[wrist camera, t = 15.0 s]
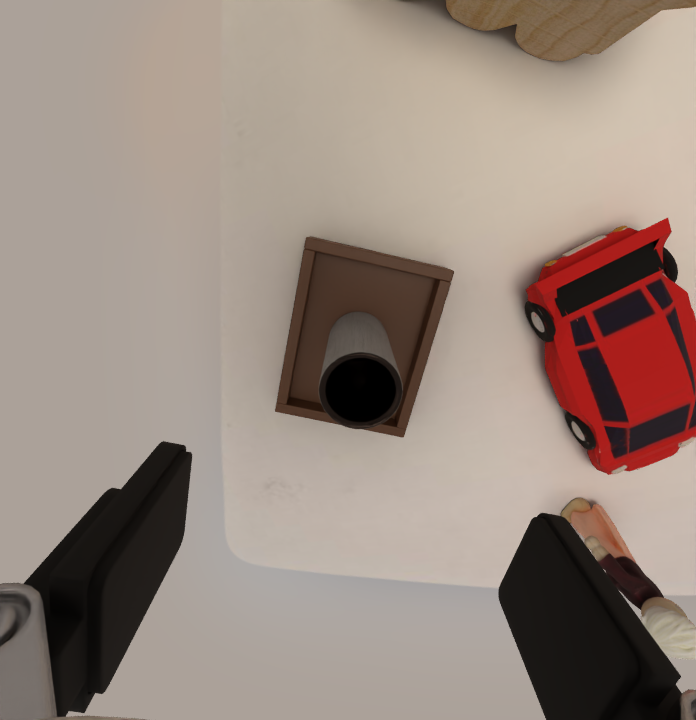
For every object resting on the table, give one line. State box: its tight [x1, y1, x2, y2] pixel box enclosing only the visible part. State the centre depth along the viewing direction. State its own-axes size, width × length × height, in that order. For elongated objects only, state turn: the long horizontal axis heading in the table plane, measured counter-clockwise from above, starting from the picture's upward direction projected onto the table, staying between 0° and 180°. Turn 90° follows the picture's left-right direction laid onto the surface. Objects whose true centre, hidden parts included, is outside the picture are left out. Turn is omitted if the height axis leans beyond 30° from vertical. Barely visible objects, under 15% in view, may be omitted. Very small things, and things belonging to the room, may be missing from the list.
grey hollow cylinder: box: [319, 312, 403, 429], centre depth 26 cm, size 4×4×10 cm
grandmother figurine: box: [561, 498, 696, 659], centre depth 30 cm, size 8×4×13 cm, turn 58°
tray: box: [275, 237, 454, 437], centre depth 30 cm, size 14×11×2 cm
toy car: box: [525, 218, 696, 475], centre depth 29 cm, size 10×20×5 cm, turn 32°
